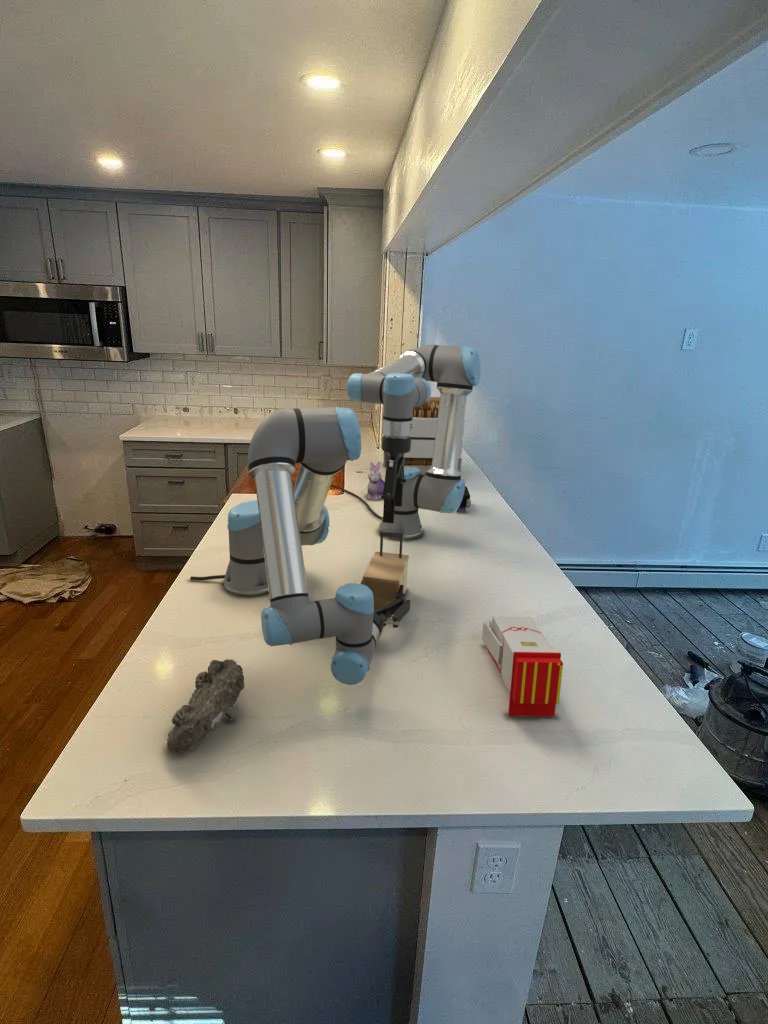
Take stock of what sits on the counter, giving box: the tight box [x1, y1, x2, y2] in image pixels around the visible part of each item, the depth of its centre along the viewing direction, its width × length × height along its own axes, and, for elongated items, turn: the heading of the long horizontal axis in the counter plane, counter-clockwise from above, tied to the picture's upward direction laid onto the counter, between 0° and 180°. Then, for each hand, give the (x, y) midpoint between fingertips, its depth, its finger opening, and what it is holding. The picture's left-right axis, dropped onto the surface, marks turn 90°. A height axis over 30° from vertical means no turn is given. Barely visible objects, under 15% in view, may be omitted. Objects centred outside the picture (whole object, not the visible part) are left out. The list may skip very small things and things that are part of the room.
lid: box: [362, 530, 410, 584], centre depth 150 cm, size 16×10×8 cm, turn 169°
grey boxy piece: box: [383, 396, 465, 474], centre depth 268 cm, size 34×33×41 cm
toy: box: [481, 615, 564, 718], centre depth 123 cm, size 12×13×30 cm
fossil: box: [166, 658, 245, 754], centre depth 106 cm, size 22×10×15 cm
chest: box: [362, 560, 409, 617], centre depth 152 cm, size 16×10×9 cm, turn 169°
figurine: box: [366, 461, 385, 501], centre depth 235 cm, size 9×10×15 cm
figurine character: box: [456, 485, 472, 513], centre depth 228 cm, size 7×8×15 cm
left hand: (382, 587), depth 148 cm, fingers closed on chest, 9 cm apart
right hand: (392, 513), depth 152 cm, fingers open, 13 cm apart
